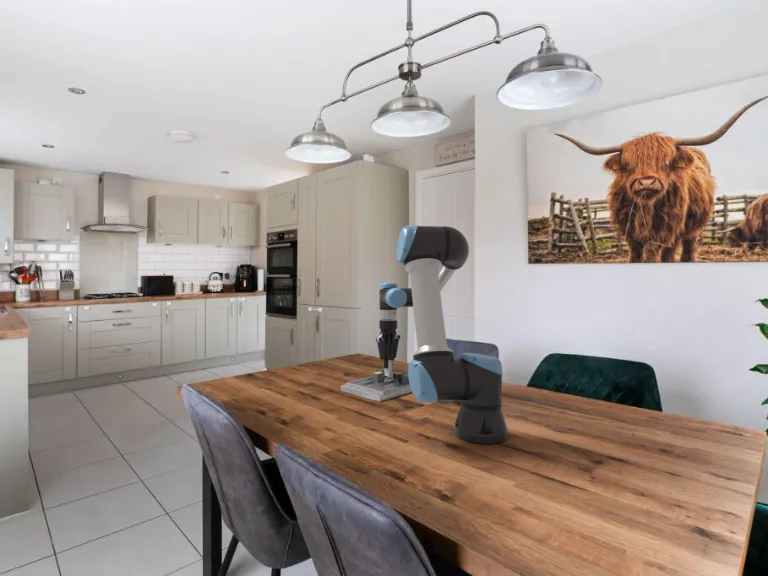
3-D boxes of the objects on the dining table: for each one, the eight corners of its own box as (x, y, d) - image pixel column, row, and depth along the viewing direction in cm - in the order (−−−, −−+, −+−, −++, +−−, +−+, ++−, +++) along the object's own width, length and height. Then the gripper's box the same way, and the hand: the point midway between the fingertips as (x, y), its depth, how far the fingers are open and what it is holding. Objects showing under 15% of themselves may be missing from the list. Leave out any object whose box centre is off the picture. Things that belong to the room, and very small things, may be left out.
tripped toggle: (377, 384, 174) (377, 373, 174) (372, 383, 176) (372, 372, 176) (384, 382, 177) (384, 372, 177) (379, 381, 179) (379, 371, 179)
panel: (379, 401, 158) (379, 385, 158) (340, 390, 173) (340, 375, 173) (424, 388, 177) (424, 374, 177) (385, 379, 192) (385, 366, 192)
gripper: (383, 321, 173) (383, 379, 173) (405, 319, 182) (405, 374, 183) (370, 320, 178) (370, 376, 179) (392, 318, 187) (392, 372, 188)
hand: (388, 375), depth 181 cm, fingers closed
